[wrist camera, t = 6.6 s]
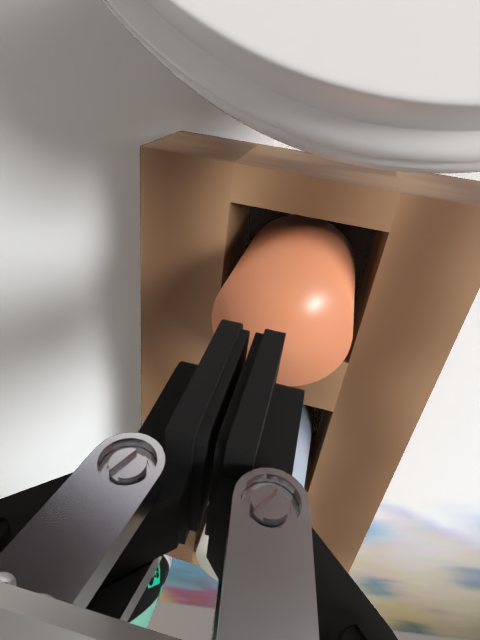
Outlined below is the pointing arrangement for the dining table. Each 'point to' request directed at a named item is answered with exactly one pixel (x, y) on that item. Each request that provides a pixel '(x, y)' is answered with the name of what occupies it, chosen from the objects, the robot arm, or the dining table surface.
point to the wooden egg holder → (369, 307)
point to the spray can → (151, 594)
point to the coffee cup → (331, 73)
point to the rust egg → (295, 295)
